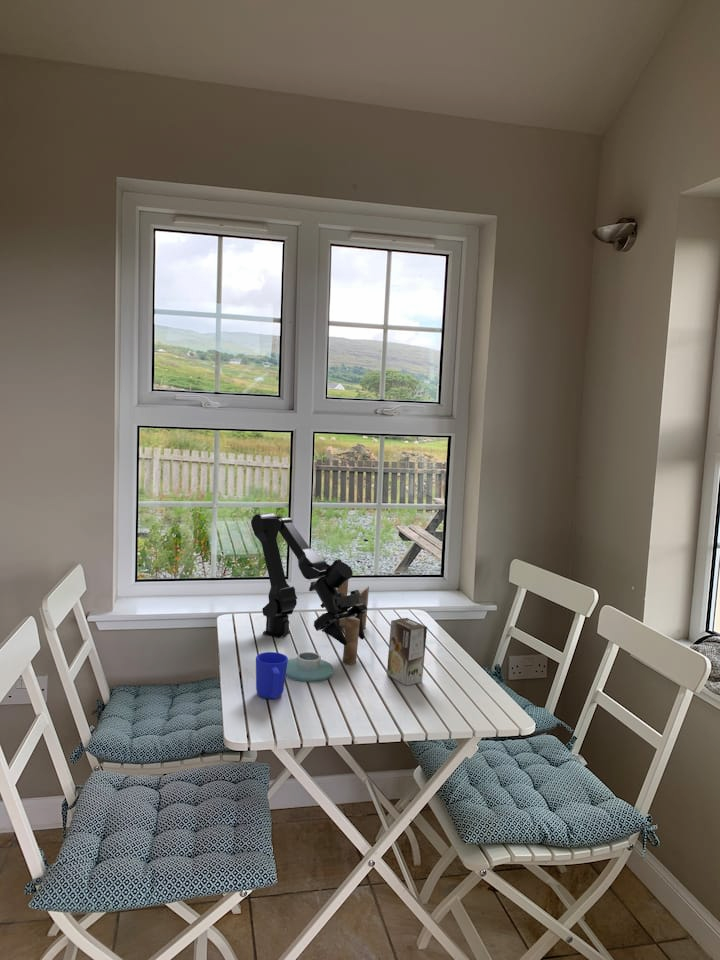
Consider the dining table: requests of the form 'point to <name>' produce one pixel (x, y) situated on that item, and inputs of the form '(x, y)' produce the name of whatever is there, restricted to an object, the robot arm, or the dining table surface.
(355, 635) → the dowel
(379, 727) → the dining table surface
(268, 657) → the mug
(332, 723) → the dining table surface
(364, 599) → the wooden block
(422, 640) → the coffee box
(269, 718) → the dining table surface
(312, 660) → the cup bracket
